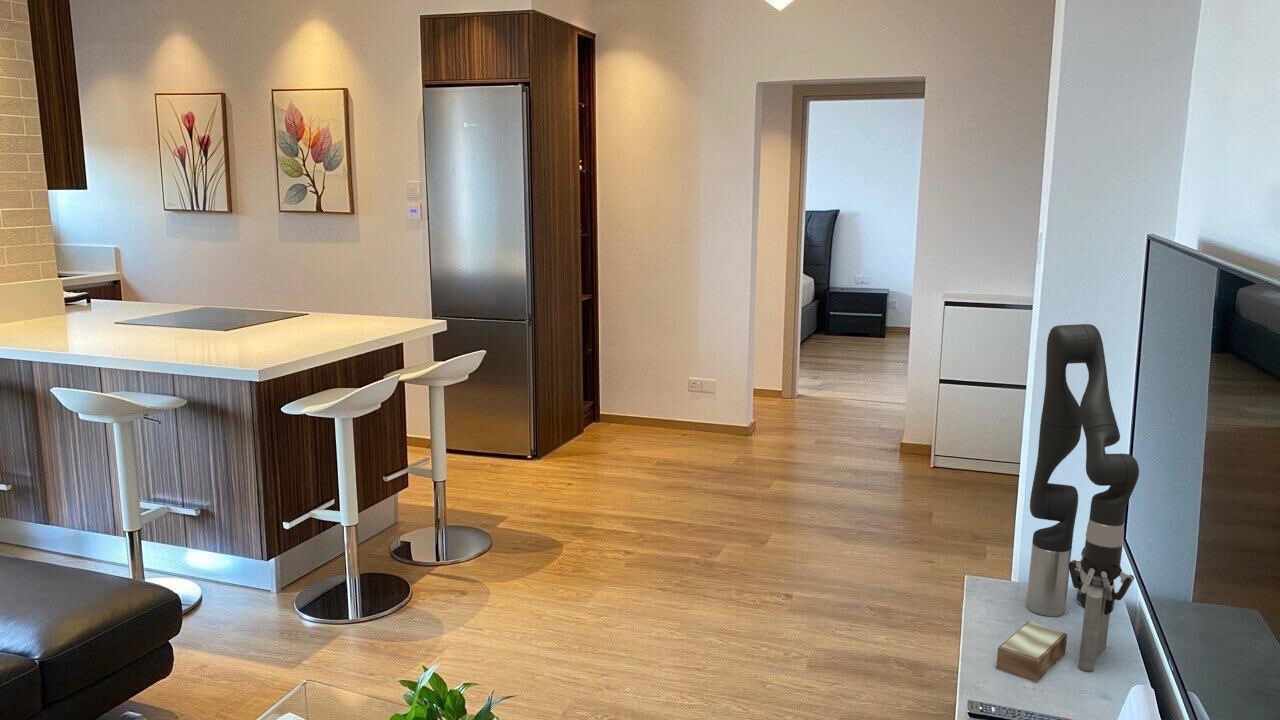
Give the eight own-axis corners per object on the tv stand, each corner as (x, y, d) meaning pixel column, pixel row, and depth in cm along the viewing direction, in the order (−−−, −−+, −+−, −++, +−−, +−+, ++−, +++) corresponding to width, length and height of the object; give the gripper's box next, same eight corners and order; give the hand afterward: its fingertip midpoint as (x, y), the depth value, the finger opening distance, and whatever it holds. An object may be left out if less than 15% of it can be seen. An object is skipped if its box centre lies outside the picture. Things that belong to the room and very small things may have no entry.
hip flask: (1092, 672, 213) (1102, 588, 209) (1072, 666, 216) (1082, 583, 212) (1107, 645, 226) (1116, 565, 222) (1088, 639, 228) (1097, 561, 224)
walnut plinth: (1026, 640, 228) (1028, 620, 227) (1065, 653, 222) (1067, 632, 222) (996, 668, 215) (998, 646, 214) (1036, 682, 209) (1039, 660, 208)
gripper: (1143, 543, 213) (1134, 615, 217) (1077, 527, 223) (1069, 596, 226) (1133, 553, 208) (1124, 626, 211) (1065, 535, 217) (1058, 606, 221)
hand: (1096, 610), depth 219 cm, fingers closed on hip flask, 4 cm apart
